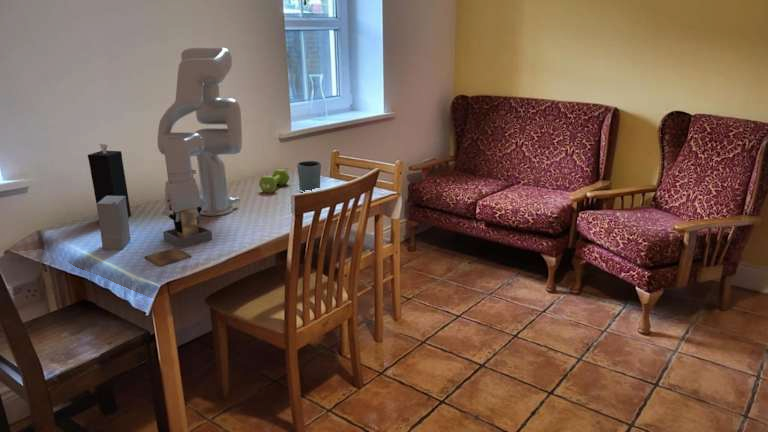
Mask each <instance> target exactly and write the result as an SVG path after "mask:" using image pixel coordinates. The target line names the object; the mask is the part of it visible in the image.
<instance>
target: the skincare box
mask: <svg viewBox="0 0 768 432" xmlns="http://www.w3.org/2000/svg"><path fill="white" fill-rule="evenodd" d="M96 209H97V210H96V211H97V217H98V225H99V230H100V231H99V232H100V237H101V245H102V250H103V251H106V250H107V251H109V250H111V251H113V250H116V251H117V250H124V248H126V246H127V245H128V244H129V243H130V242H131V240H132V238H131V231H130V224H129V217H128V213H127V204H126V196H105V197H104V198H103V199H102V200H100V201H99V202H98V203H97V204H96Z"/></svg>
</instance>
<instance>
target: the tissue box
mask: <svg viewBox="0 0 768 432" xmlns="http://www.w3.org/2000/svg"><path fill="white" fill-rule="evenodd" d="M99 145H100V149H101V150H99V151H97V152H96V151H95V152H93V153H90V154H87V159H88V164H89V170H90V175H91V181H92V187H93V192H94V197H95V204H96V205H97V203H98V202H99V201H100V200H102V199H103V198H104V197H105V196H126V204H127V213H128V218H130V217H131V216H132V214H131V213H132V211H131V207H130V200H129V193H128V188H127V181H126V175H125V169H124V162H123V155H122V151H121V150H107V148H108V145H107V144H103V143H99Z"/></svg>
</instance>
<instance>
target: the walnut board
mask: <svg viewBox="0 0 768 432" xmlns="http://www.w3.org/2000/svg"><path fill="white" fill-rule="evenodd" d="M143 257H144V259H146V260H147V261H149V262H150V263H153V264H155V265H156V266H158V267H164V266H167V265H169V264H173V263H177V262H180V261H183V260H187V259H189V258H192V255H191V254H189V253H187V252H185V251H184V250H182V249H181V248H179V247H177V246H175V247H172V248H168V249H165V250H162V251H158V252H154V253H151V254H148V255H147V254H146V255H145V256H143Z"/></svg>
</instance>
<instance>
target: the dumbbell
mask: <svg viewBox="0 0 768 432" xmlns="http://www.w3.org/2000/svg"><path fill="white" fill-rule="evenodd" d="M289 180H290V175H289V172H288V171H287V170H286V169H284V168H277V169H275V170H274V171H273V173H272V175H263V176H261V178H260V179H259V182H258V186H259V188H260V189H261V191H262V192H263V193H264V192H265V193H266V194H272V193H274V192H275V191H276V190H277V186H285V185H284V184H286V185H287V184H288V182H289ZM277 184H279V185H277ZM265 193H264V194H265Z"/></svg>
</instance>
